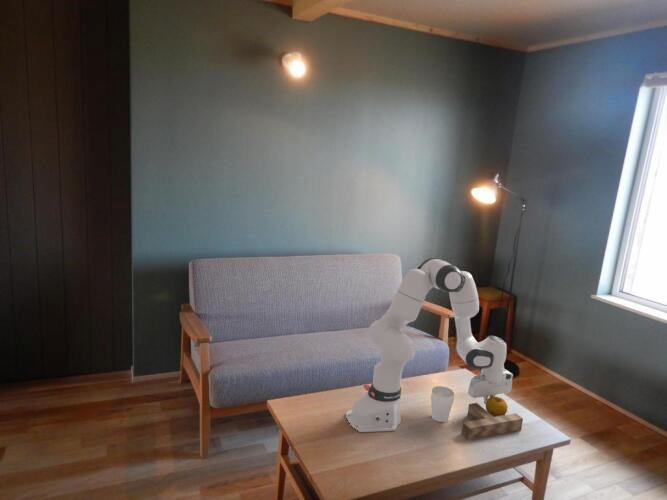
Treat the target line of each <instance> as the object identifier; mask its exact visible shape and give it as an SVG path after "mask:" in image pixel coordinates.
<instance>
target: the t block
mask: <svg viewBox="0 0 667 500" xmlns="http://www.w3.org/2000/svg"><path fill="white" fill-rule="evenodd" d="M467 416H468V417H469V418H470V419H472V420H469V421H468V420H467V421H464V422H462V424H461V425H462V426H461V433H460V435H461V436H463V438H465V439H466V440H467V441H471V440H474V439H475V440H476V439H480V438H484V437H485V438H486V437H491V436H496V435H501V434H502V435H503V434H507V433H511V432H516V431H521V430H522V427H523V421H524V418H523V417H522V416H520V415H519V414H518V413H516V412H515V413H510V414H505V415H503V416H497V417H493V416H492V415H491V414H490V413H489V412H487V410H486V408H484V407H483V406H481V405H480V404H479V403H477V402H473V403H469V404H468V408H467Z"/></svg>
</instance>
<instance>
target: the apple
mask: <svg viewBox="0 0 667 500" xmlns="http://www.w3.org/2000/svg"><path fill="white" fill-rule="evenodd" d="M488 398H489V397H488ZM488 398H487V399H488ZM485 410H486V411H487V412H489V413H490V414H491V415H492V416H493V417H497V416H503V415H507V411H508V403H507V401H506V400H504V399H503V398H502V397H499V396H495V397H491V398H489V399H488V400H487V401H486V404H485Z"/></svg>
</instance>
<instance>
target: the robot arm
mask: <svg viewBox="0 0 667 500" xmlns="http://www.w3.org/2000/svg"><path fill="white" fill-rule="evenodd" d="M433 288H435V289H436V290H437V289H438V290H440V291H442V292H444V293H449V294H448V295H449V300H450V306H451V310H452V313H453V315H454V317H453V318H454V325H455V332H456V333H455V341H454V344H453V347H454V351H455V354H457V355H458V356H459V357H460V358H461V359H462V361H463V362H464V363H465V364H466V365H467V366H468V368H470V369H474V370H481V371H480V375H479V374H478V375H474V376H473V377H472V378H471V379H470V382H469V386H468V390H467V394H468V395H469V396H470V397H472V398H473V399H476V398H478V399H479V398H483V403H484V404H485V405H486V401H487V400H488V399H489V398H491V397H497V395H503V394H507V393H511V391H512V388H513V377H514V373H512V372H510V371H509V370H507V369H505V365H504V364H505V362H506V361H507V360H506V359H507V349H508V348H507V343H506V342H505V341H504V340H503V339H502V338H500V337H499V336H495V335H488V336H487V338H485V339H483V340H481V341H480V342H478V341H477V340H476V338H475V337H474V336H473V333H472V327H471V319H472V318H474V317H475V316H476V315H477V314H478V313H479V311H480V301H479V293H478V290H477V285H476V283H475V279H474V278H473V275H472V274H471V273H470V272H469V271H466V270H465V271H464V270H460V269H459V268H458V267H457V266H455V265H453V264H451V263H449V262H448V261H446V260H442V259H439V258H435V257H431V258H428V259H425V260H423V262H421V263H420V265H419V266H418V267H417V268H412V269H409V270H408V271H407V273H406V274H405V276H404V277H403V279H402V280H401V283H400V284H399V286H398V288H397V291H396V293H395V295H394V296H393V299H392V301H391V303H390V305H389V308H388V309H387V311H386V312H385V313H384V314H383V315H382V316H381V318H379V319H377V320H375V321H373V322H372V323H371V324H370V325H369V327H368V330H367V334H368V338H369V340H370V341H371V342H372V344H373V345H374V347H375V348H377V349H378V350H379V351H380V353H381V357H380V361H379V362H377V363H375V365H374V368H373V378H372V383H371V385H369V384H368V383H365V384H364V385H363V389H365V390H366V391H368V392H367V393H365V394H364V395H362V396H361V397H360V398H358V399H357V400H355V401H354V403H353V404H352V409H350V410H348V411H346V414H345V418H347V419H346V421H347V420H348V421H347V423H348V422H349V423H350V424H349V423H348V424H349V425H350V426H352V427H353V428H352V427H351V428H352V429H354V428H355V429H356V430H355V429H354V430H355V431H357V430H358V431H357V432H360V433H369V432H370V433H371V432H372V433H373V432H375V433H376V432H395V431H397V428H398V426H399V425H400V423H401V422H402V418H401V417H402V416H401V410H400V399H401V394H402V386H401V385H402V384H401V383H402V382H401V381H402V376H403V375H402V374H403V370H404V367H405V365H406V364H407V363H410V361H412V360H413V358H414V356H415V354H416V345H415V344H414V343H413V341H412V340H411V338H410V337H409V336H408V335H406V333H404V332H403V330H404V328H405V327H406V326H407V325H408V324H409V323H412V322H415V321H416V319H417V318H418V316H419V313H420V311H421V309H422V306H423V304H424V303H425V300H426V297H427V294H428V293H429V292H430V290H431V289H433Z"/></svg>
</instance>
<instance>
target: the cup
mask: <svg viewBox="0 0 667 500" xmlns="http://www.w3.org/2000/svg"><path fill="white" fill-rule="evenodd" d="M454 395H455V392H454V390H452V389H451V388H449V387H446V386H444V385H443V386H442V385H441V386H440V385H436V386H433V388H432V390H431V395H430V403H431V405H430V407H431V409H430V410H431V418H432V420H434V421H435V422H439V423H446V422H447V421H448V420H449V418H450V414H451V411H452V406H453V404H454Z"/></svg>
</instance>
